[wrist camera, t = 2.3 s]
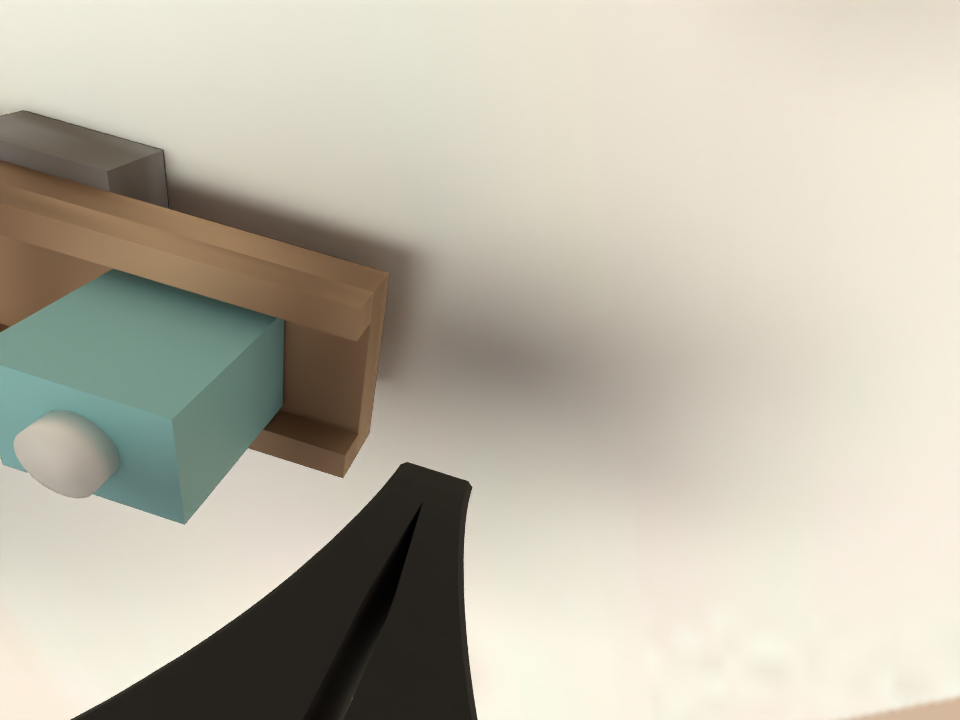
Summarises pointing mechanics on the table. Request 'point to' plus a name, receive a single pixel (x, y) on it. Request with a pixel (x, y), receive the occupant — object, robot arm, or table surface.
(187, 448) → the rider
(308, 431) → the beam
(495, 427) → the table surface
